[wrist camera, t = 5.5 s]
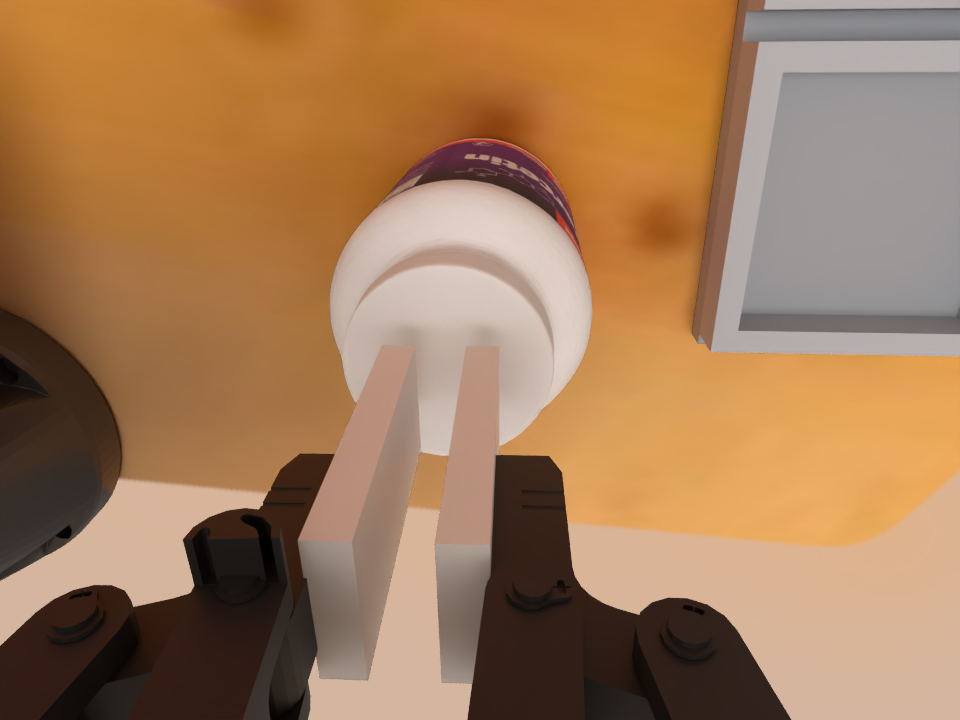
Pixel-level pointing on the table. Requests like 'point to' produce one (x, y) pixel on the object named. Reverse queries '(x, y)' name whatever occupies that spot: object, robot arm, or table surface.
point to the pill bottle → (467, 283)
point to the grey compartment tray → (837, 182)
